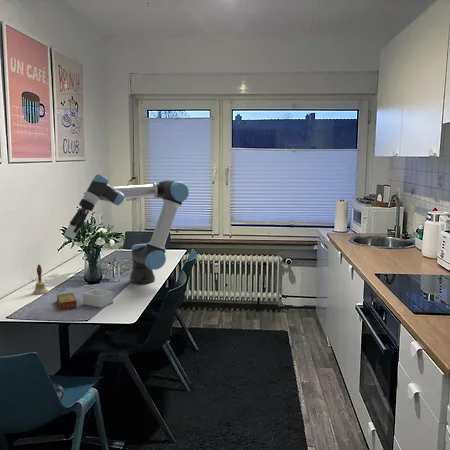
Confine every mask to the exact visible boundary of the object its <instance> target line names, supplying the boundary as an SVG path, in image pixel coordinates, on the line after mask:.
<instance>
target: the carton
mask: <svg viewBox="0 0 450 450" xmlns="http://www.w3.org/2000/svg"><path fill="white" fill-rule="evenodd" d="M56 302H57V304H58V306H59V310H60V311H63V310H64V309H65V310H71V309H77V308H78V301H77V299H76V297H75V294H74V292H67V293H59V294H57V295H56Z"/></svg>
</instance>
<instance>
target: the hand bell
mask: <svg viewBox="0 0 450 450" xmlns="http://www.w3.org/2000/svg"><path fill="white" fill-rule="evenodd" d="M36 273H37V278H38V279H37V282H36V283H35V288H34V290H33V292H32V294H33V295H44V294H45V295H46V294H47V293H49V289H47V287H46V285H45V282H43V281H42V273H43V271H42V266H41V264H37V268H36Z"/></svg>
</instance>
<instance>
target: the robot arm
mask: <svg viewBox="0 0 450 450" xmlns="http://www.w3.org/2000/svg"><path fill="white" fill-rule="evenodd" d="M109 182H110V180H109V179H108V178H107V177H106V176H104V175H102V174H99V173H97V174H95V176H94V177H93V179H92V180H91V182H90V184H89V186H88V187H87V189H86V191H84V193H83V194H84V195H83V197H82V198H81V199H80V201H79V202H78V205H79V206H80V207H81V208H78V211H77V212H76V213H75V215H74V216H73V217H72V219H71V220H70V221H69V225H68V227H67V228H66V230H65V232H64V234H63V236H65V237H67V238H70V239H72V240H74V239H75V238H76V237H77V234H78V232H79V231H80V229H81V228H82V227H83V226H84V224H85V221H86V219H87V216H88V214H89V213H90V212H92V211H93V210H94V208H95V205H96V204H97V203H98V201H99V200H100V201H105V202H109V203H111V204H112V205H115V206H120V205H121V204H122V203H123V202H124V200H125V199H137V198H139V199H141V198H153V199H162V203H163V204H162V206H161V210H160V213H159V217H158V218H157V221H156V225H155V228H154V230H153V233H152V236H151V239H150V241H148V242H147V243H138V244H133V245H132V246H131V262H132V264H131V265H132V266H131V267H132V268H131V274H130V276H129V282H130V283H132V284H135V285H136V284H137V285H139V284H140V285H143V284H145V285H146V284H151V283H154V282H155V280H156V277H155V273H154V271H157V270H159V269H161V268H162V267H163V266H164V265H165V264H166V261H167V256H166V254H165V253H166V250H167V249H166V247H165V245H166V244H167V243H166V242H167V239H168V237H169V234H170V232H171V227H172V225H173V223H174V219H175V216H176V213H177V212H178V211H177V210H178V208H180V207H182V204H183V202H184V201H186V200H187V199H188V197H189V187H188V185H186V183H185V182H183V181H180V180H168V179H167V180H163V181H156V182H155V181H154V182H151V183H150V184H148V183H147V184H134V185H133V184H132V185H116V186H112V185H110V184H109ZM153 270H154V271H153Z"/></svg>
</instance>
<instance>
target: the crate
mask: <svg viewBox="0 0 450 450" xmlns="http://www.w3.org/2000/svg"><path fill="white" fill-rule="evenodd" d="M82 299H83V306H89V307H90V306H91V307H94V308H99V309H100V308H104V307H106V306H109V305H112V304H113V303H114V291H110V290H105V289H98V288H93V289H91V290H88V291H86V292H82Z"/></svg>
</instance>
